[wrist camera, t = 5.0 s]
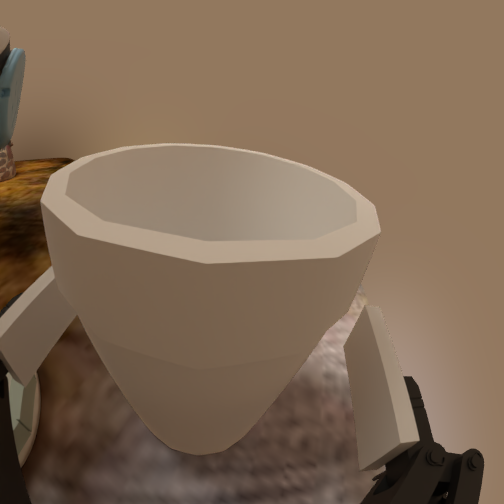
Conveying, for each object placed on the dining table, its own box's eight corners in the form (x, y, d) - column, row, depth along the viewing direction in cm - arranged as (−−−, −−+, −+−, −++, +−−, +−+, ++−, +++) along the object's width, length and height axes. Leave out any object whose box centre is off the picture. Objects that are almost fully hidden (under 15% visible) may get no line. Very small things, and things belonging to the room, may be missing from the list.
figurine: (21, 173, 44) (19, 122, 39) (-1, 183, 38) (-5, 128, 32) (7, 172, 45) (5, 124, 39) (-14, 182, 39) (-18, 131, 33)
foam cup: (210, 328, 20) (233, 141, 13) (308, 413, 15) (414, 210, 8) (92, 383, 14) (33, 161, 7) (182, 511, 8) (105, 373, 2)
